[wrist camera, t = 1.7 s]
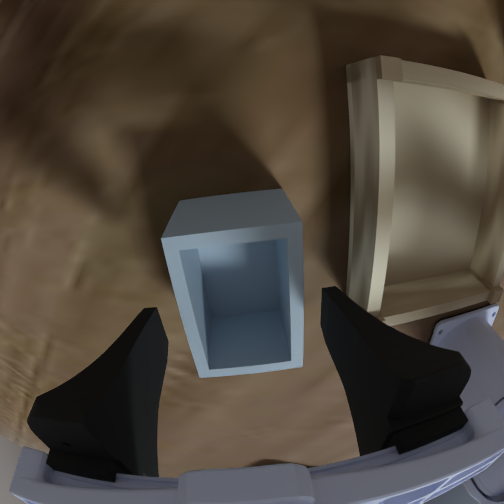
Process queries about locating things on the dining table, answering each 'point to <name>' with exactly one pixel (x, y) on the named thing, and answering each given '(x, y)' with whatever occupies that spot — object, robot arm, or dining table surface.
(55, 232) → the dining table surface
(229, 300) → the small crate
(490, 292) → the pine crate
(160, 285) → the dining table surface
